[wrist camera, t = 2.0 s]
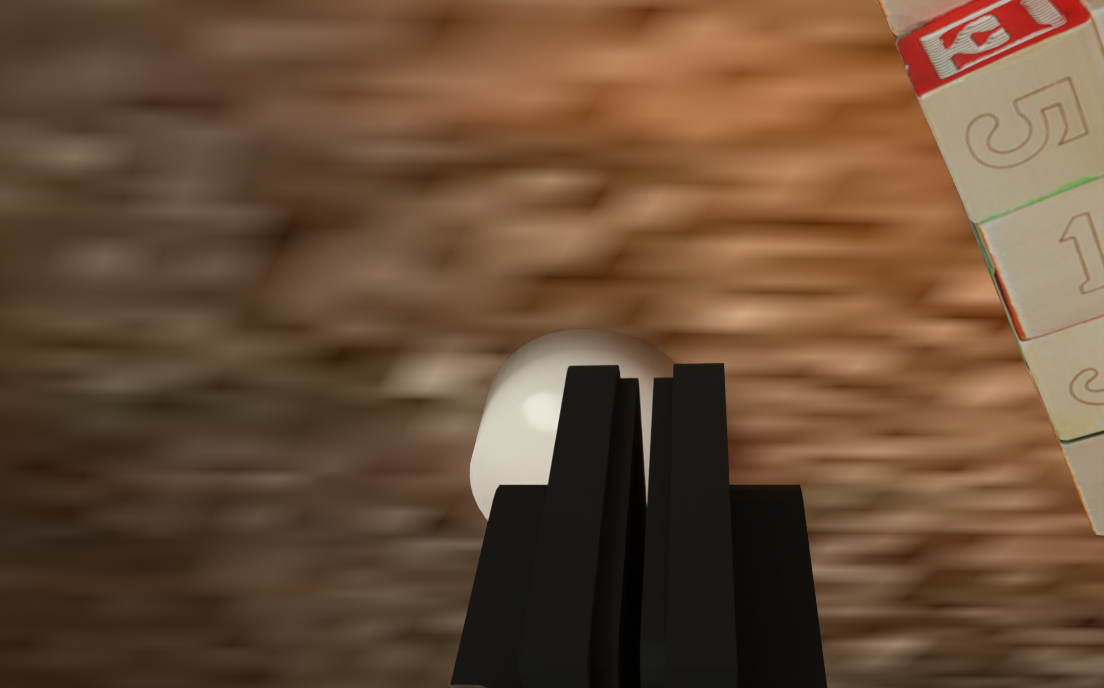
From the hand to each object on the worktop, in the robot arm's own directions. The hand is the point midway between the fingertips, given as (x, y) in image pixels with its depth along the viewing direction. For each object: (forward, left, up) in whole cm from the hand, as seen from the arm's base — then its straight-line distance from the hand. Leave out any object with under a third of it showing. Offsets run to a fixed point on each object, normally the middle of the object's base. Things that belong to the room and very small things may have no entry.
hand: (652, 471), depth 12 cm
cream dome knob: (+17, -4, -22) cm, 28 cm away
